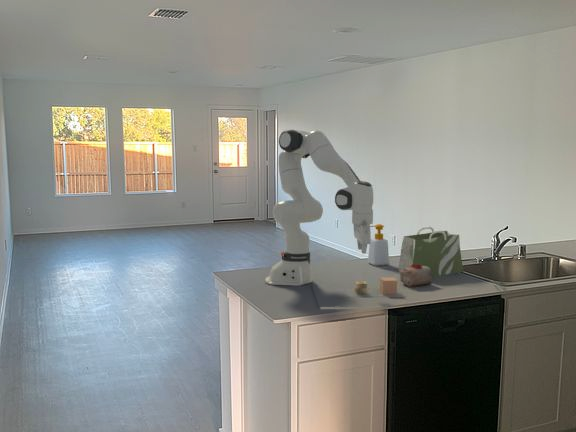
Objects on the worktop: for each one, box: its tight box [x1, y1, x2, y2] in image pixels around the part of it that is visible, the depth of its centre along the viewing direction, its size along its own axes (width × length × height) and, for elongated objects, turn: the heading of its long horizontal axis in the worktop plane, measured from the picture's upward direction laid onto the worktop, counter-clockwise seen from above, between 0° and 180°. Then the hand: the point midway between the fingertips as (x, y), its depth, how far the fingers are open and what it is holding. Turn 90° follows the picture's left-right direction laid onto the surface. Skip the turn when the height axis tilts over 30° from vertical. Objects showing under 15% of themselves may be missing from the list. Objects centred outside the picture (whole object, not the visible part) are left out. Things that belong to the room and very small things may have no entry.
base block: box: [379, 276, 398, 294], centre depth 241 cm, size 6×6×6 cm
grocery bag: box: [397, 226, 465, 277], centre depth 285 cm, size 32×14×23 cm, turn 113°
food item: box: [399, 263, 432, 288], centre depth 260 cm, size 14×8×10 cm, turn 114°
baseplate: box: [344, 287, 407, 298], centre depth 241 cm, size 24×14×1 cm, turn 93°
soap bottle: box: [367, 223, 390, 267], centre depth 304 cm, size 10×14×22 cm
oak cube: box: [354, 280, 368, 294], centre depth 241 cm, size 4×4×4 cm
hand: (361, 251), depth 239 cm, fingers open, 8 cm apart
